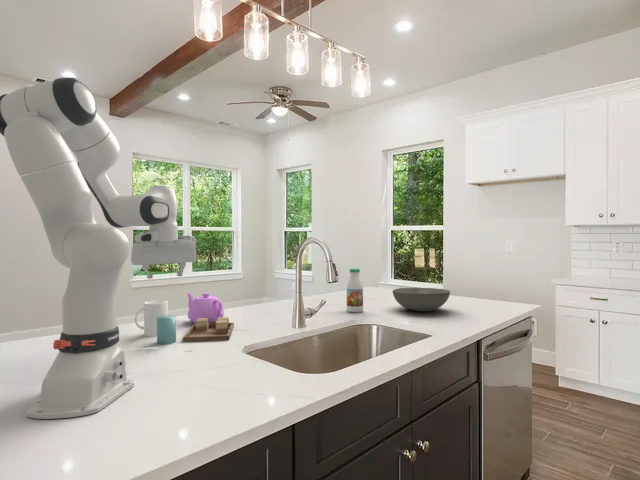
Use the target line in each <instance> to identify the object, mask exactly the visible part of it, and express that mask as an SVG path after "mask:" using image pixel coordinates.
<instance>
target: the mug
mask: <svg viewBox="0 0 640 480" xmlns="http://www.w3.org/2000/svg"><path fill="white" fill-rule="evenodd" d="M141 312H143V325H140V324H139V323H138V322H137V320H138V319H137V318H138V315H139V314H140V313H141ZM164 315H169V301H168V300H165V299H164V300H163V299H156V300H149V301H148V300H147V301H144V302H143V306H142V307H141V308H139V309H138V310H137V312H136V313H135V315H134V323H135V326H136V327H137V328H139V329H141V330H143V335H144V336H146V337H157V317H159V316H164Z"/></svg>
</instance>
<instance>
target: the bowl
mask: <svg viewBox="0 0 640 480" xmlns="http://www.w3.org/2000/svg"><path fill="white" fill-rule="evenodd" d="M392 295H393V297H394V299H395V301H396V303H398V304H399V305H400V306H401V307H403V308H405V309H407V310H410V311H414V312H431V311H434V310H437V309H440V308H441V307H442V306H444V305H445V304H446V302H447V301H448V299H449V298H450V295H451V291H450V290H449V289H445V288H437V287H399V288H395V289H392Z"/></svg>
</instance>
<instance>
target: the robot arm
mask: <svg viewBox="0 0 640 480" xmlns="http://www.w3.org/2000/svg"><path fill="white" fill-rule="evenodd" d="M97 107H98V106H97V102H96V99H95V97H94V95H93V93H92V91H91V90H90V89H89V88H88V86H87V85H86V84H85V83H83V82H82V81H80V80H78V79H77V78H74V77H59V78H56V79H54V80H50V81H45V82H41V83H36V84H29V85H26V86H24V87H21V88H18V89H16V90H14V91H12V92H10V93H4V94H2V95H0V134H1V136H3V137H4V139H5V141H4V142H5V143H6V147H7V151H8V152H9V153H8V154H9V155H10V158H11V160H12V163H13V165H14V167H15V170H16V172H17V173H18V175H19V177H20V180H22V183H23V185H24V186H25V188H26V190H27V193H28V194H29V196H30V199H31V200H32V201H33V203H34V206H35V207H36V209H37V212H38V214H39V217H40V219H41V222H42V225H43V229H44V231H45V234H46V237H47V239H48V242H49V244H50V250H51V254H52V255H53V257H54V258H55V260H56V261H57V262H58V263H59V264H61V265H63V266H64V267H66V268H67V269H69V274H68V280H67V281H68V282H67V284H66V289H65V292H64V294H63V296H62V299H61V302H62V303H61V304H62V307H61V308H62V313H61V314H62V332H61V333H60V337H59V338H58V339H55V340H54V341H53V343H52V347H53V350H58V353H57V355H56V357H55V359H54V361H53V362H52V364H51V365H50V368H49V369H48V371H47V373H46V374H45V377H44V378H43V379H42V382H41V389H40V396H39V397H38V398H37V400H35V402H34V403H33V404H32V405H31V406H30V407H29V408H28V410H27V411H26V417H27V418H31V419H38V420H39V419H42V420H43V419H46V420H48V419H49V420H50V419H52V420H53V419H64V418H66V419H67V418H74V417H75V418H76V417H81V416H86V415H87V416H88V415H91V414H95V413H98V412H100V411H103V410H104V408H106V407H107V406H109V405H110V404H111V403H112V402H114V401H115V400H117V399H118V398H119V397H121V396H122V395H124V394H125V393H126V392H127V391H129V390H131V389H132V388H133V387H134V386H135V383H134V381H133V380H131V379H128V369H127V358H126V352H125V350H123V348H121V346H120V344H119V341H120V329H119V326H118V323H117V321H118V320H117V316H118V315H117V311H118V309H117V305H118V304H117V300H118V299H117V297H118V288H119V282H120V280H121V279H120V278H121V274H122V271H123V270H122V269H123V267H124V264H125V262H126V261H127V260H128V258H129V256H130V263H131V264H132V265H133V266H142V268H143V270H144V271H145V273H146V278H147V279H148V280H151V279H153V278H154V276H153V274H154V273H153V272H150V271H149V265H167V264H179V265H180V266H181V267H180V268H179V270H177V271H176V277H183V271H184V270H185V268H186V266H187V263H194V262H196V260H197V251H196V246H197V240H196V238H195V236H192V235H190V234H187V235H184V234H183V235H179V234H178V233H179V229H178V228H179V227H178V226H179V225H178V222H177V217H178V203H177V195H176V193H175V190H174V189H173V188H171V187H168V186H163V185H153V186H151V187H149V188H150V189H149V190H148V191H146V192H144V193H141V194H138V195H125V194H121V193H119V192H117V189H115V187H114V185H113V184H112V181H111V180H110V178H109V176H108V175H107V172H106V171H108V170H109V169H110V168H112V167H113V166H114V165H115V164H116V163H117V161H118V160H119V157H120V153H121V147H120V144H119V141H118V139H117V138H116V136H115V135H114V134H113V132H112V130H111V128H109V126H108V125H107V124H106V122H105V121H104V119H103V118H102V117H101V116H100V115H99V113H98V112H97V110H98V108H97ZM74 156H75V157H74ZM75 158H76V159H75ZM76 160H77V161H76ZM92 194H93V196H94V198H95V200H96V201H97V203H98V204H99V206H100V208H101V210H102V213H103V216H104V218H105V220H106V222H107V223H109V224H105V223H98V222H97V220H96V217H95V213H94V210H93V206H92V205H93V204H92ZM129 227H148V228H149V229H148V231H145V232H142V233H139V234H136V235H134V241H135V242H134V243H133V245H132V247H131V244H130V241H129V239H128V237H127V235H126V234H125V233H124V232H123V231H121V230H120V229H121V228H129ZM118 228H119V229H118ZM130 254H131V255H130Z"/></svg>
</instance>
